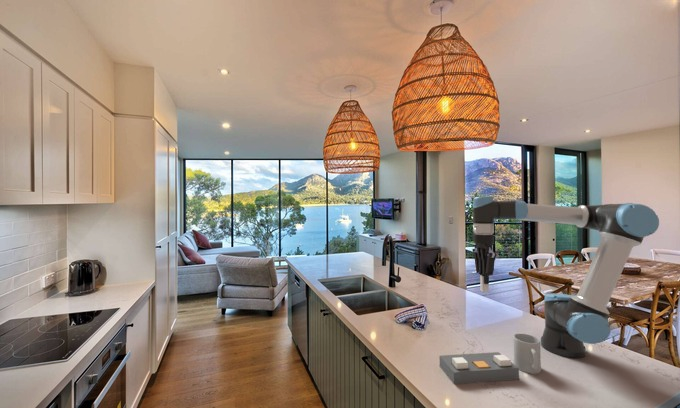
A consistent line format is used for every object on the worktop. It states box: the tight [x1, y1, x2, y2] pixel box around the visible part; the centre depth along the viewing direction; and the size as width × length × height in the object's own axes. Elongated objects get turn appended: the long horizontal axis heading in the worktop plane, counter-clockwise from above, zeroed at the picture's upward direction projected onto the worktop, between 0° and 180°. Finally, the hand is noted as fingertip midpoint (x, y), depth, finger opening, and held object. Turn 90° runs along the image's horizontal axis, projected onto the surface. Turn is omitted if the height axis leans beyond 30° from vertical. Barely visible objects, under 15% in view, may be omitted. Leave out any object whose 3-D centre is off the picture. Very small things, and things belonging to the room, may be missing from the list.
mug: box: [513, 333, 542, 375], centre depth 104 cm, size 12×8×11 cm
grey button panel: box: [438, 351, 520, 385], centre depth 102 cm, size 24×11×6 cm, turn 95°
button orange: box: [473, 361, 490, 369], centre depth 100 cm, size 4×4×3 cm
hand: (484, 291), depth 114 cm, fingers closed
